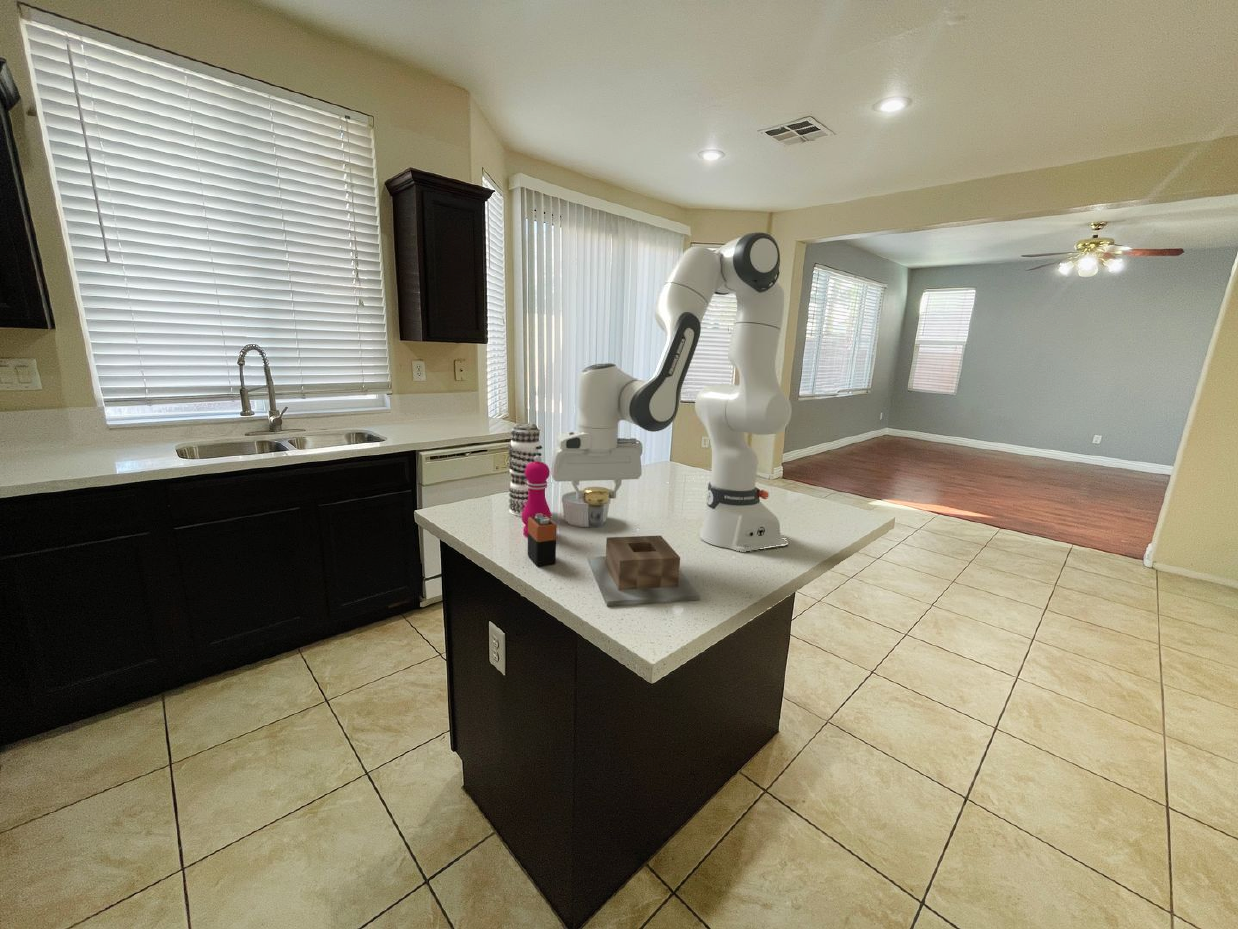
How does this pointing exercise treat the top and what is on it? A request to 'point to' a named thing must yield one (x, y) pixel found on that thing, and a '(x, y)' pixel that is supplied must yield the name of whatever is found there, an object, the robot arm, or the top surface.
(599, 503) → the gold grey cylinder
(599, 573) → the board
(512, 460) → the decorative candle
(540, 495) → the pepper mill
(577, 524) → the ramekin
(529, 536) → the battery
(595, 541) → the top surface
